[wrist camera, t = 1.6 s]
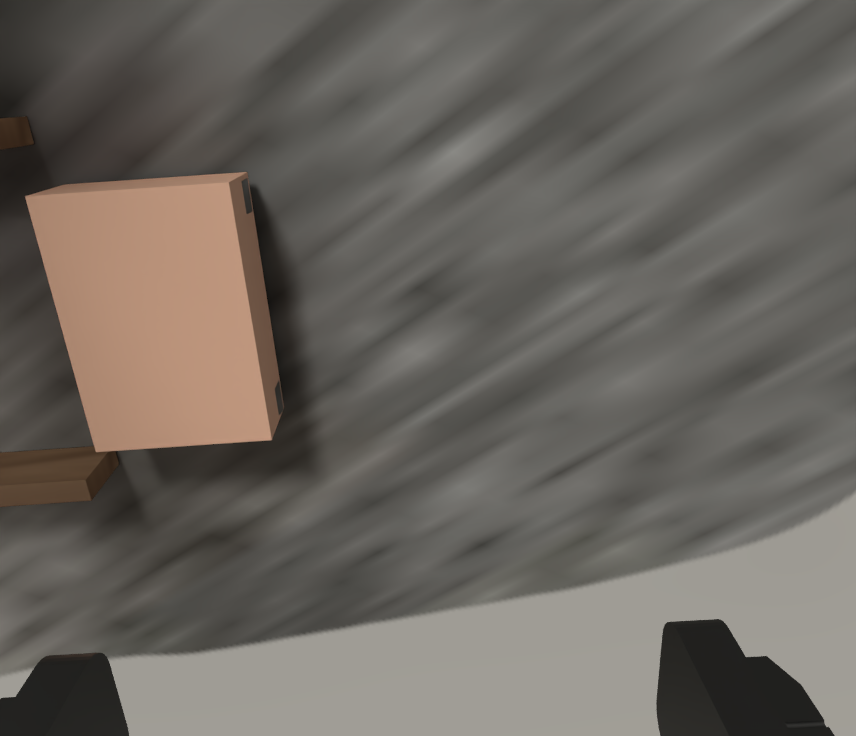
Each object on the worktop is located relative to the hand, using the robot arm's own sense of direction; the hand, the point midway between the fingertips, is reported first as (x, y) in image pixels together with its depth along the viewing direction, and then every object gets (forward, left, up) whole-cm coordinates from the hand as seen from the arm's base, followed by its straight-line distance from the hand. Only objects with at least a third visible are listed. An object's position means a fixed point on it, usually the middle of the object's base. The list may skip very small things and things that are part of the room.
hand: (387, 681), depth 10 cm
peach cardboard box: (0, -9, -21) cm, 22 cm away
